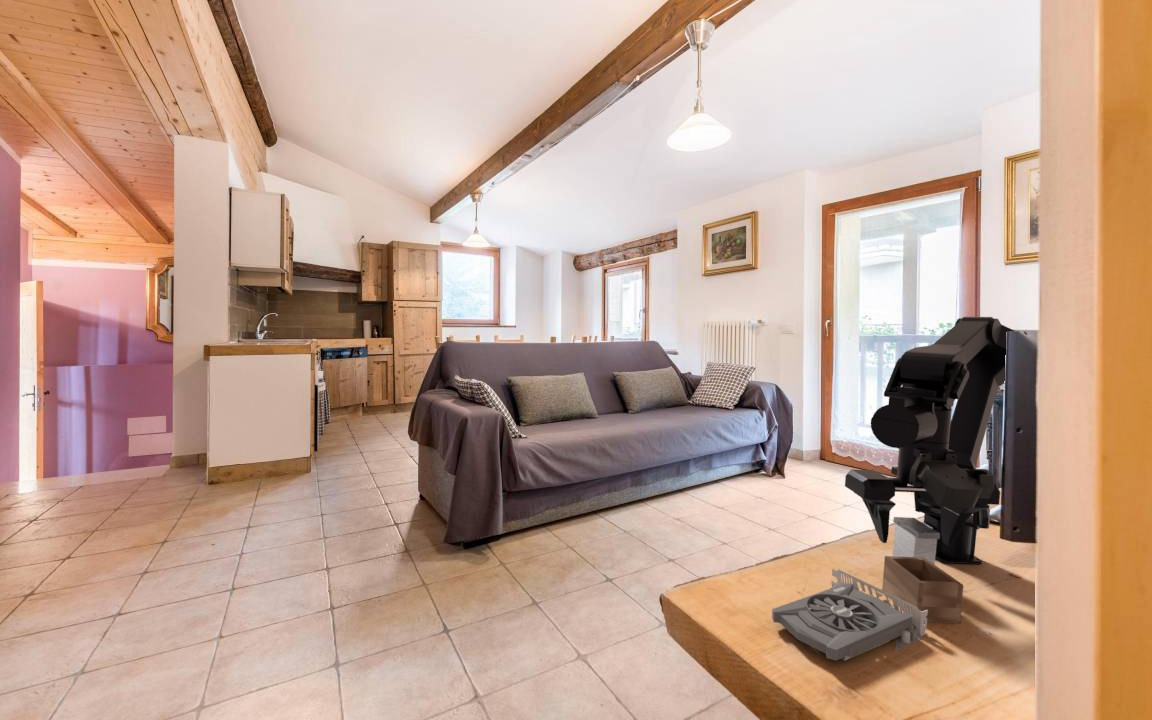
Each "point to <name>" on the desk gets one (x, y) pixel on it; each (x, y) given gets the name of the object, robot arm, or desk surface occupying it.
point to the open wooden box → (923, 587)
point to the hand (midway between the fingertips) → (914, 543)
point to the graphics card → (850, 619)
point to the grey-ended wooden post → (914, 539)
